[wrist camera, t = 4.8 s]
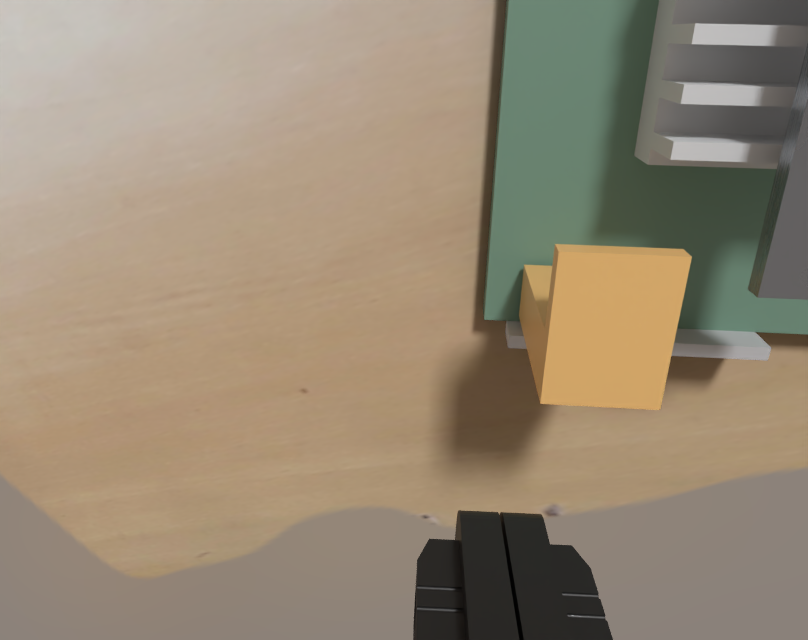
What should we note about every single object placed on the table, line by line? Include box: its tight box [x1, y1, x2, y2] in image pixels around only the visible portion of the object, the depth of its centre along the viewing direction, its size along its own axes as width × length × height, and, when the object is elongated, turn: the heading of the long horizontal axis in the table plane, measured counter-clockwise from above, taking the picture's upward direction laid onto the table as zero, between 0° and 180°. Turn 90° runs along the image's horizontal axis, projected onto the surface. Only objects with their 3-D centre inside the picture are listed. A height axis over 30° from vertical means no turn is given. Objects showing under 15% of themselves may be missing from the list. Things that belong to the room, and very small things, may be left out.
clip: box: [519, 244, 692, 410], centre depth 24 cm, size 4×5×8 cm
